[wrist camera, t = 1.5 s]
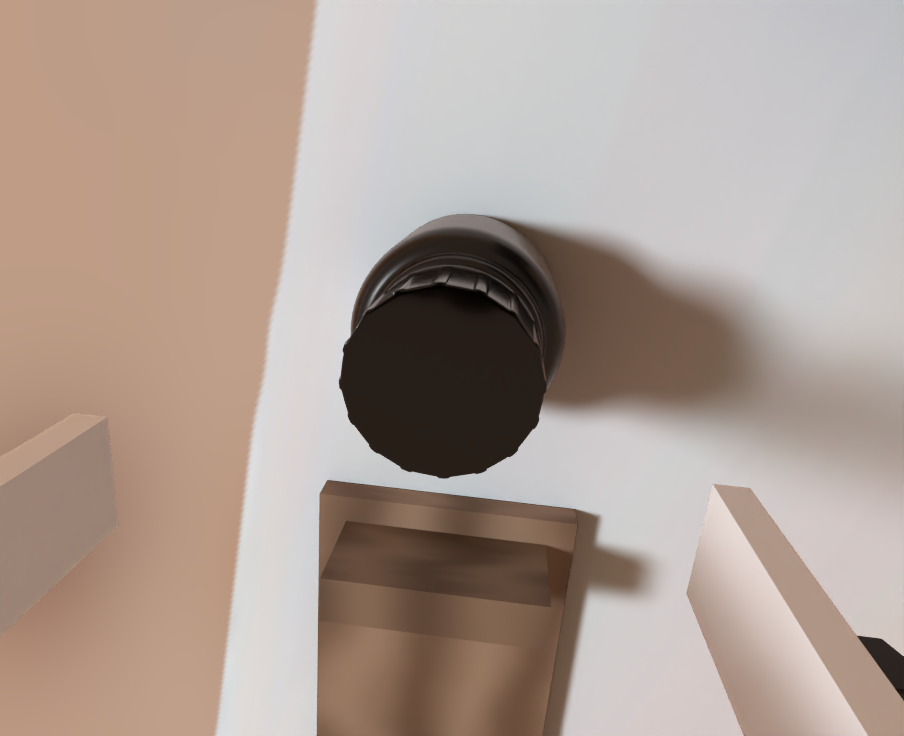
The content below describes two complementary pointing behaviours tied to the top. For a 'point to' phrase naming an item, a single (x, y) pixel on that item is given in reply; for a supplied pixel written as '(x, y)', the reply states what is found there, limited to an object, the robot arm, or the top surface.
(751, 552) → the robot arm
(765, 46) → the top surface
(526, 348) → the ink bottle
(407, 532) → the cradle
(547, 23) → the top surface
